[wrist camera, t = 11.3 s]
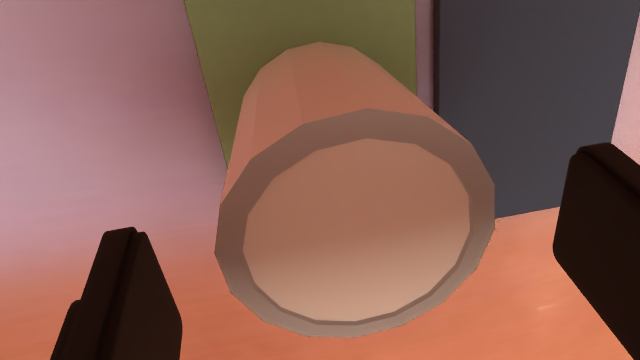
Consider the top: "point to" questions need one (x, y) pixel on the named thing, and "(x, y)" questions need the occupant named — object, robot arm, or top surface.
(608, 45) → the slate mat
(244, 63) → the sage mat
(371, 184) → the cup
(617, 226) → the robot arm
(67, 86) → the top surface
